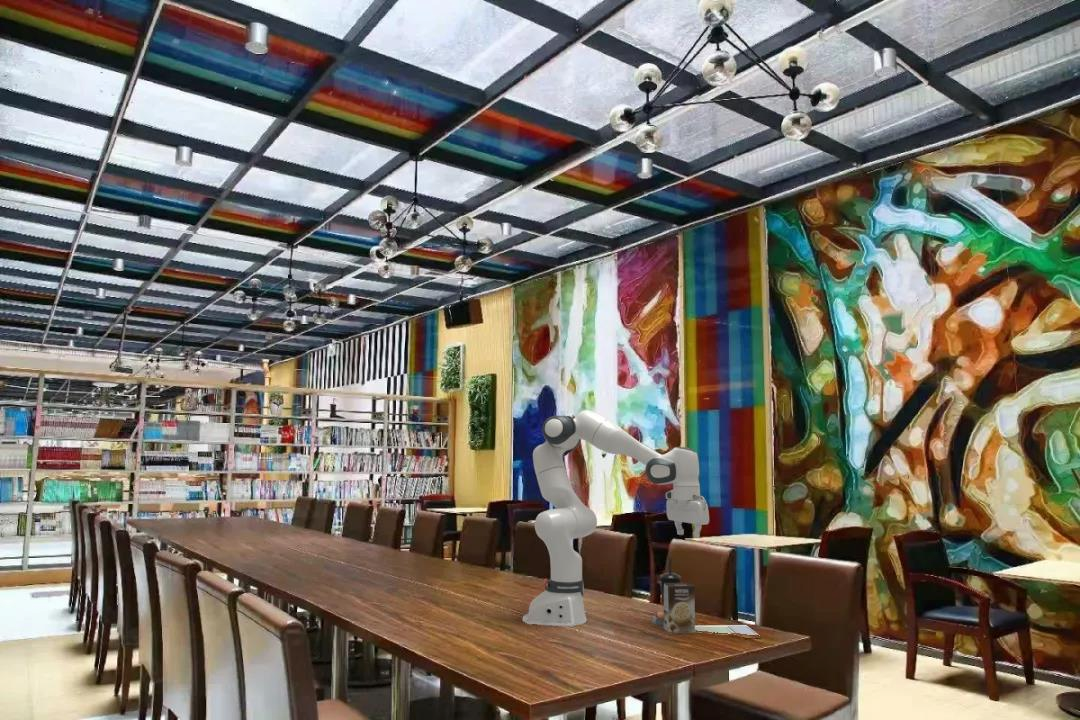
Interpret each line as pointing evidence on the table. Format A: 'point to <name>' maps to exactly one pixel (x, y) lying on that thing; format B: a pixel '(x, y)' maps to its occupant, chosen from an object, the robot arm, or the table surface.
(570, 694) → the table surface
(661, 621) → the button housing
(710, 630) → the picture board
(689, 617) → the coffee box
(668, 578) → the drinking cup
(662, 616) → the button
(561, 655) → the table surface
